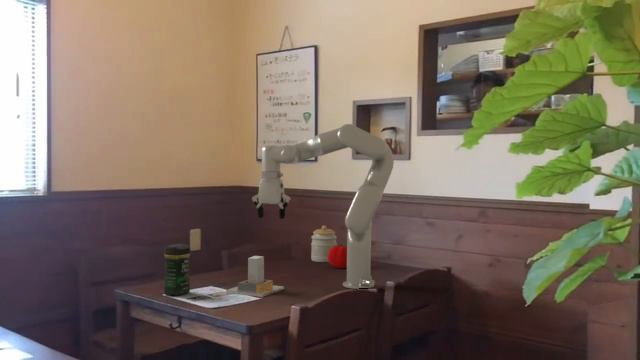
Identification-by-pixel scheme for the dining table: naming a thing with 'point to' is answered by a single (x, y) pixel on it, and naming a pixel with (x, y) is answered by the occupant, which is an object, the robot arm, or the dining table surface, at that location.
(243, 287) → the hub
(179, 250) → the coffee jar
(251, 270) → the skincare box
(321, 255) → the jar
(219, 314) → the dining table surface
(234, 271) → the dining table surface
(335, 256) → the tomato
